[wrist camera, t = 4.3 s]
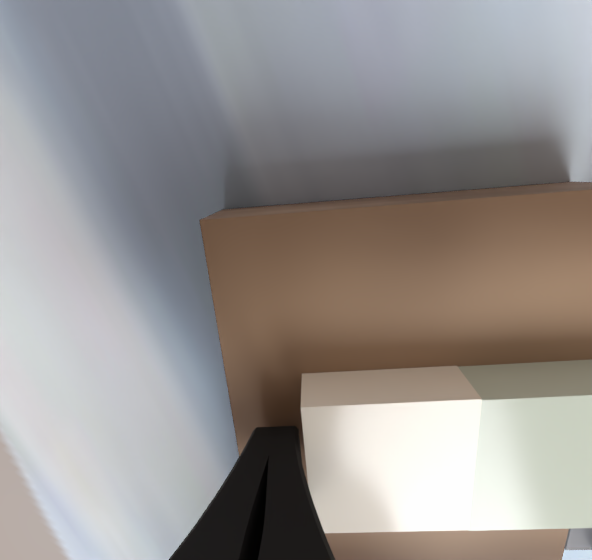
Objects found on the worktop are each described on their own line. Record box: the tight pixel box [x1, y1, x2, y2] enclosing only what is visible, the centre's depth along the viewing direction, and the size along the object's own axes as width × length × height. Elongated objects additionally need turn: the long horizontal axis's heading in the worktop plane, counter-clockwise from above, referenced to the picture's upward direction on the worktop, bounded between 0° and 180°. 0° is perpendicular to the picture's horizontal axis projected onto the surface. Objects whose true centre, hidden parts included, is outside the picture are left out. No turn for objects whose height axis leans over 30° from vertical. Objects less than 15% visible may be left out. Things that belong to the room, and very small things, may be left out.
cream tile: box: [301, 366, 482, 533], centre depth 10 cm, size 4×4×2 cm
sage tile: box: [458, 359, 592, 531], centre depth 10 cm, size 4×4×2 cm
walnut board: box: [200, 182, 592, 560], centre depth 12 cm, size 14×11×2 cm
